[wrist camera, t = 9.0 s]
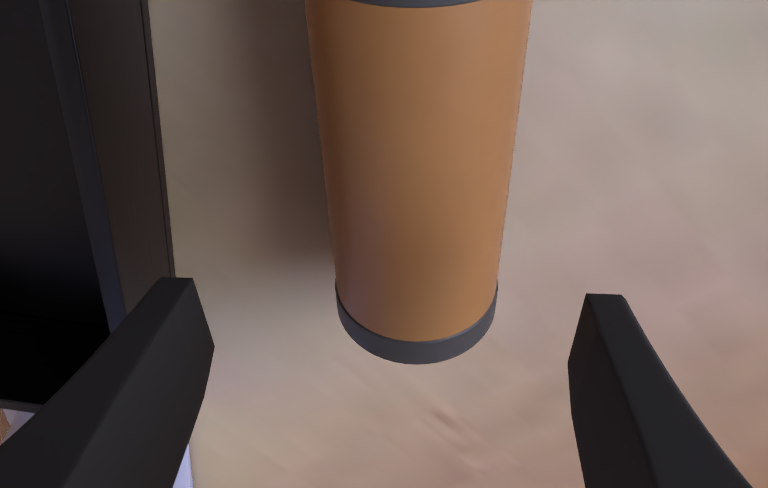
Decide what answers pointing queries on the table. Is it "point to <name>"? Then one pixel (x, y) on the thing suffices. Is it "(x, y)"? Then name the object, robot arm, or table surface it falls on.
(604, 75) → the table surface
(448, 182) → the tube
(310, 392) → the table surface
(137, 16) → the tray
